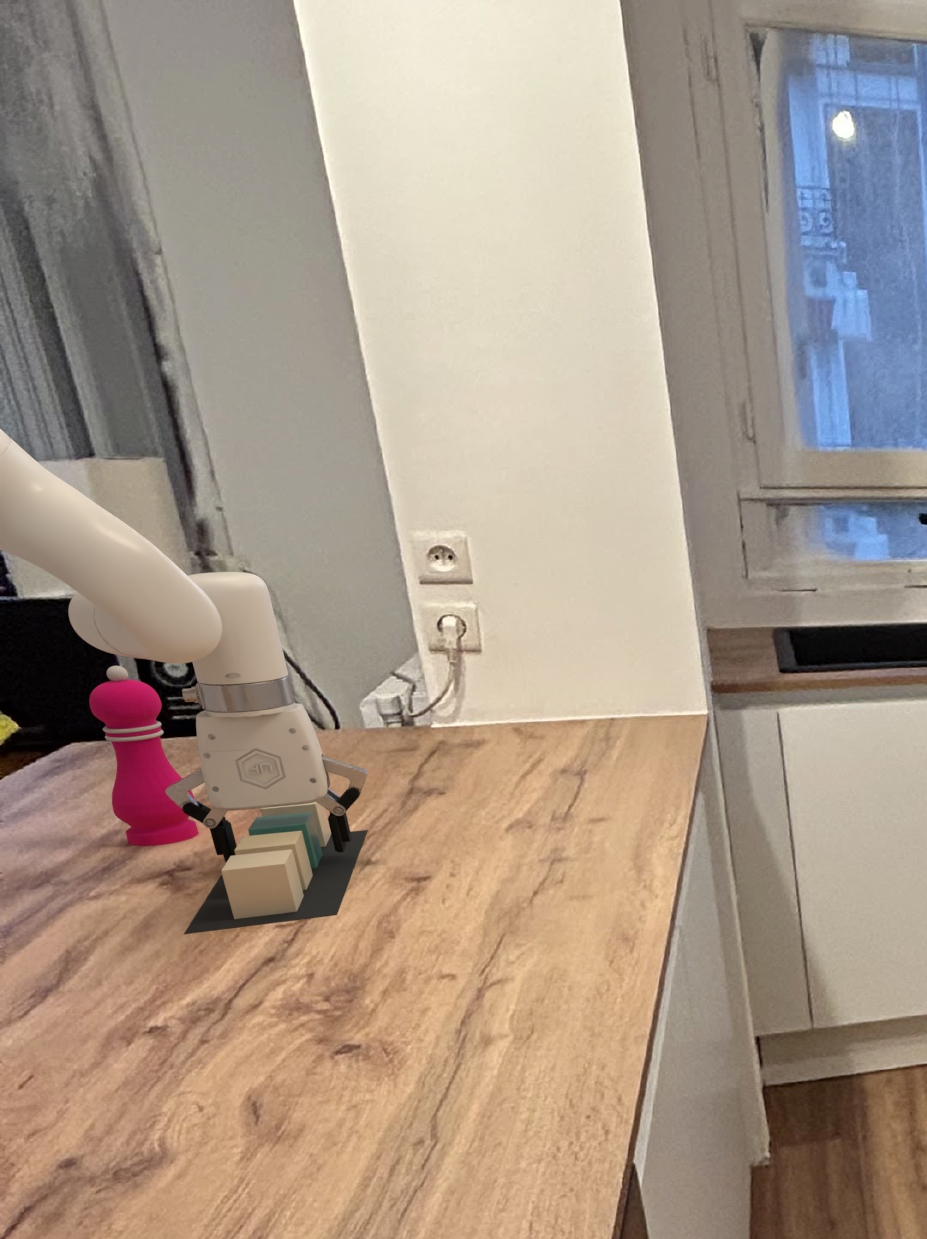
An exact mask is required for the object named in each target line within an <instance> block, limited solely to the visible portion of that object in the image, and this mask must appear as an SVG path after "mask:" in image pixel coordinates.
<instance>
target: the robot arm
mask: <svg viewBox="0 0 927 1239" xmlns="http://www.w3.org/2000/svg"><path fill="white" fill-rule="evenodd" d="M0 550H1V551H3V552H6V553H8V554H10V555H12V556H15V557H17V558H19V559H21V560H24V561H26V562H28V563H30V564H32V565H34V566H36V567H38V568H40V569H42V570H43V571H45V572H47V573H48V574H50V575H52V576H53V577H55V578H57V579H58V580H59V581H61V582H63V583H64V584H66V585H67V586H68V587H70V588H71V589H73V590H74V591H76V592H75V593H74V594H73V596H72V598H71V599H70V602H69V604H68V618H69V622H70V625H71V627H72V628H73V630H74V632H75V633H76V634H77V635H78V636H79V637H80V638H81V639H82V640H83V641H85V642H86V643H87V644H89V645H90V646H92V647H94V648H96V649H98V650H100V651H102V652H106V653H109V654H113V655H116V656H120V657H127V658H133V659H140V660H149V661H156V662H160V663H166V664H181V665H182V664H189V663H192V665H193V670H194V674H195V677H196V681H197V683H196V685H194V686H191V688H189V687H188V688H182V689H181V692H182V693H181V694H182V698H183V700H184V702H185V703H191V702H194V704H195V703H197V704H199V706H201V707H202V711H200V712H198V713H197V714H196V716H195V728H196V741H197V742H196V743H197V749H198V755H199V762H200V767H201V768H199V769H197V770H195V771H194V772H192V773H190V774H187V775H186V776H185V777H183V778H182V777H181V778H182V779H181V780H179V781H177V782H175V783H173V784H172V785H170V786H169V787H168V788H167V789H166V791H165V792H166V794H167V795H168V796H169V797H170V798H171V799H172V800H173V801H174V802H175V803H176V804H177V805H178V806H179V807H180V808H181V809H182V810H183V812H184V813H185V814H187V815H189V817H190V818H193V820H196V821H198V822H199V823H201V824H203V826H204V828H207V829H209V831H210V835H211V839H212V843H213V847H214V850H215V853H216V855H217V856H223V860H224V863H225V864H226V862H227V861H228V859H229V858H230V856H234V855H235V851H234V850H235V849H236V847H237V845H238V844H237V842H236V837H235V834H234V830H233V826H232V823H231V821H229V820H228V819H227V818H226V814H227V813H228V812H229V811H245V810H255V809H261V808H268V807H279V806H289V805H299V804H308V803H313V802H317V803H319V804H320V805H321V806H323V807H324V808H325V810H327V811H328V812H329V815H328V816H327V819H328V823H329V828H330V832H331V835H332V839H333V843H334V847H335V851H338V852H344V850H345V848H346V842H350V841H351V840H352V838H351V832H352V831H351V829H350V824H349V820H348V815H347V811H348V810H349V809H350V808H351V807H352V806H353V805H354V803H355V802H356V801H357V800H358V799H359V798H360V796H361V793H362V790H363V788H364V786H365V783H366V781H367V778H368V775H369V772H368V770H367V769H365V768H363V767H360V766H357V765H353V764H350V763H347V762H344V761H341V760H337V759H334V758H331V757H328V756H325V755H324V754H323V751H322V748H321V744H320V741H319V738H318V735H317V733H316V730H315V727H314V725H313V723H312V721H311V718H310V716H309V713H308V712H307V710H306V708H305V706H304V705H303V704H302V703H297V702H296V700H295V695H294V692H293V687H292V684H291V679H290V676H289V671H288V666H287V662H286V657H285V655H284V654H285V653H284V649H283V647H282V642H281V637H280V633H279V629H278V625H277V624H278V623H277V620H276V616H275V612H274V608H273V604H272V599H271V595H270V591H269V588H268V586H267V583H266V582H265V581H264V580H263V579H262V578H261V577H260V576H258V575H256V574H254V573H250V572H241V571H216V572H215V571H214V572H212V571H211V572H202V573H201V572H200V573H195V574H194V573H193V574H188V575H187V574H186V573H185V572H184V571H183V569H181V568H180V567H179V566H178V565H176V563H175V562H173V560H172V559H170V558H169V557H168V556H167V555H166V554H165V553H163V552H162V551H161V550H160V549H159V548H158V547H157V546H156V545H155V544H153V543H152V542H151V541H150V540H148V539H147V538H146V537H145V536H143V535H142V534H140V533H139V532H138V531H136V530H135V529H134V528H133V527H131V526H130V525H128V524H127V523H125V522H124V521H123V520H121V519H120V518H118V517H117V516H116V515H114V514H112V513H111V512H110V511H108V510H106V509H105V508H103V507H102V506H100V505H99V504H98V503H96V502H95V501H93V500H92V499H90V498H89V497H88V496H86V495H85V494H84V493H82V492H81V491H80V490H78V489H76V488H75V487H73V486H72V485H71V484H69V483H67V482H66V481H64V480H63V479H61V477H58V476H56V474H54V473H52V472H51V471H49V470H47V469H46V468H45V467H44V466H43V465H42V464H41V463H39V462H38V461H37V460H36V459H34V458H33V457H32V456H31V455H30V454H29V453H27V451H25V450H24V448H22V447H21V446H20V445H19V444H18V443H17V442H15V440H13V438H12V437H10V436H9V435H8V434H7V433H5V431H4V430H2V429H1V428H0ZM329 773H330V774H333V775H337V776H340V777H343V778H347V779H348V780H349V784H348V787H347V789H346V790H345V791H344V792H343V793H342V794H341V795H339V794H338V793H336V792H335V791H333V790H332V789H331V788H330V786H331V780H330V779H331V778H330V774H329ZM202 784H204V787H205V792H206V796H207V798H208V801H209V803H210V805H211V806H212V808H210V807H209V806H207V805H205V804H203V803H202V802H199V801H198V800H196V799H195V800H194V799H193V798H192V796H191V795H190V794H189V791H190V790H191V791H192V790H194V789H196V788H197V787H199V786H201V785H202Z"/></svg>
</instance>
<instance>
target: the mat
mask: <svg viewBox="0 0 927 1239" xmlns="http://www.w3.org/2000/svg"><path fill="white" fill-rule="evenodd" d="M368 831H369V829H362V830H354V831H350V832H351V838H352V840H351V841H350V842H346V848H345V850H344V852H338V851H335V847H334V843H333V839H332V835H331V836H330V838H329V840H328V843H327V845H326V847H321V851H322V857H321V859H320V862H319V864H318V866H317V868H315V869H311V870H312V874H313V876H312V878H311V881H310V883H309V885H308V887H307V890H302V891H303V895H304V897H303V899H302V901H301V903H300V906H299V908H298V910H297V912H291V913H282V914H274V915H266V916H258V917H250V918H242V919H234V916H233V913H232V909H231V905H230V902H229V898H228V894H227V891H226V887H225V883H224V880H223V876H222V873H221V874H220V876H219V877H218V879H217V880H216V883H215V884H214V885H213V886H212V888H211V890H210V892H209V894H208V895H207V897H206V898H205V900H204V901H203V903H202V904H201V906H200V907H199V909H198V910H197V912H196V914H195V916H194V917H193V918H192V920H191V922H190V923H189V924H188V926H187V928H186V929H185V931H184V933H183V935H191V934H198V933H206V932H214V931H221V930H229V929H230V930H231V929H237V928H246V927H255V926H263V925H269V924H279V923H285V922H294V921H301V920H310V919H318V918H326V917H332V916H338V913H339V911H340V908H341V905H342V903H343V900H344V897H345V895H346V893H347V892H346V891H347V889H348V886H349V883H350V880H351V878H352V875H353V873H354V869H355V866H356V864H357V861H358V858H359V856H360V854H361V851H362V848H363V845H364V842H365V839H366V837H367V834H368Z"/></svg>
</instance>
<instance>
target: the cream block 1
mask: <svg viewBox="0 0 927 1239" xmlns="http://www.w3.org/2000/svg"><path fill="white" fill-rule="evenodd" d="M306 812H312V814H313V818H314V822H315V826H316V830H317V834H318V839H319V843H320V847H326V845H327V843H328V840H329V838H330V836H331V830H330V826H329V822H328V816H327V811H326V808H324V807H323V806H321V805H320V804H319V803H317V802H313V803H308V804H299V805H289V806H279V807H268V808H260V813H261V817H264V816H275V815H285V814H295V813H306Z"/></svg>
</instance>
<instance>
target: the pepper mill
mask: <svg viewBox="0 0 927 1239" xmlns="http://www.w3.org/2000/svg"><path fill="white" fill-rule="evenodd" d="M106 676H107V678H108V679H109V681H106V682H102V683H101V684H99V685H97V686H96V687H94V689H93V690H92V691H91V693H90V694H89V702H88V703H89V709H90V711H91V714H93V716H94V717H95V718H97V719H98V720H99V721H101V722H103V723H104V724H105V725H104V727H103V728H102V731H103V732H104V735H105V736H104V738H105V740H106V741H110V742H111V744H112V747H113V750H114V753H115V760H116V774H115V779H114V783H113V787H112V791H111V806H112V812H113V814H114V816H115V817H116V818H117V819H118V820H120V821H122V822H123V823H125V824H127V825H128V826H130V827H129V828H127V829H126V831H125V835H126V839H127V842H128V845H131V846H135V847H154V846H155V847H156V846H163V845H171V844H175V843H180V842H185V841H187V840H190V839H193V838H195V837H196V836H197V837H198V835H199V830H198V826H197V822H196V821H195V820H194V819H189V817H190V816H189V815H187V814H185V813H184V812H183V810H182V809H181V808H180V807H179V806H178V805H177V804H176V803H175V802H174V801H173V800H172V799H171V798H170V797H169V796H168V795H167V794H166V792H165V791H166V789H167V788H168V787H169V786H170V785H172V784H173V783H175V782H177V781H179V780H181V779H182V776H181V775H180V774H179V773H178V772H177V771H176V769H175V768H174V767H173V766H172V764H171V763H170V761H169V759H168V757H167V756H166V753H165V751H164V748H163V745H162V740H161V739H162V738H161V736H162V735H163V734H164V733H165V732H164V730H163V729H162V723H161V721H160V720H159V721H158V720H157V718H158V716H159V714H160V713H161V710H162V706H163V704H162V700H161V698H160V696H159V694H158V692H157V691H156V689H154V688H153V687H152V686H151V685H150V684H147V683H145V682H143V681H140V680H136V679H130V678H129V673H128V670H127V669H126V668H124V667H123V666H121V665H112V666H110V667H108V668H107V670H106ZM128 678H129V679H128ZM189 794H190V795H191V796H192V798H193V799H194V800H196V798H195V795H194V793H193V791H192V790H190V791H189Z"/></svg>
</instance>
